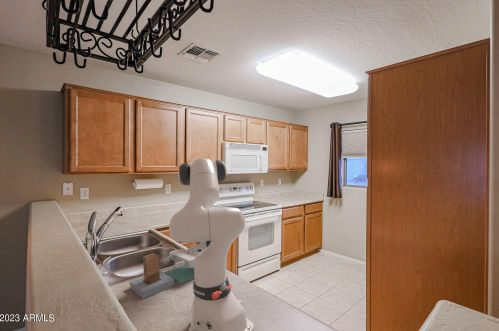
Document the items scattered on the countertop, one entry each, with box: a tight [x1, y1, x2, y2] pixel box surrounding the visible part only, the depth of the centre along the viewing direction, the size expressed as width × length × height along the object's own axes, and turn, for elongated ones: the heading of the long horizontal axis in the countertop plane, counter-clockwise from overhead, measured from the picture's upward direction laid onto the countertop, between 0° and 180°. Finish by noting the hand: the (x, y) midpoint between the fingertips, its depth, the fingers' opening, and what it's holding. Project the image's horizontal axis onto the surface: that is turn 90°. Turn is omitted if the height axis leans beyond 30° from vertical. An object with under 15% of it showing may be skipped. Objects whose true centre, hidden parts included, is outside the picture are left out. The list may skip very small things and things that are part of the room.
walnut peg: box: [142, 252, 161, 285], centre depth 108 cm, size 5×5×14 cm
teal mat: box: [164, 266, 194, 284], centre depth 121 cm, size 16×14×1 cm
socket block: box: [129, 270, 175, 300], centre depth 108 cm, size 14×14×3 cm
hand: (169, 262), depth 115 cm, fingers open, 8 cm apart
